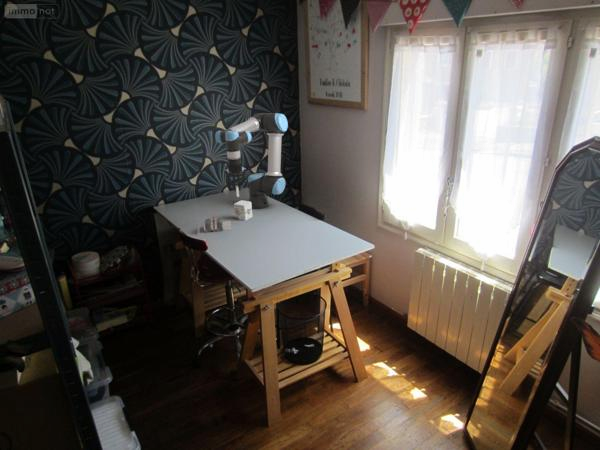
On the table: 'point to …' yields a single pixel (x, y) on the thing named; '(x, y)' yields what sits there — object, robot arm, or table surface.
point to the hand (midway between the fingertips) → (238, 196)
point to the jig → (208, 221)
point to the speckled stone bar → (225, 225)
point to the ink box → (243, 210)
